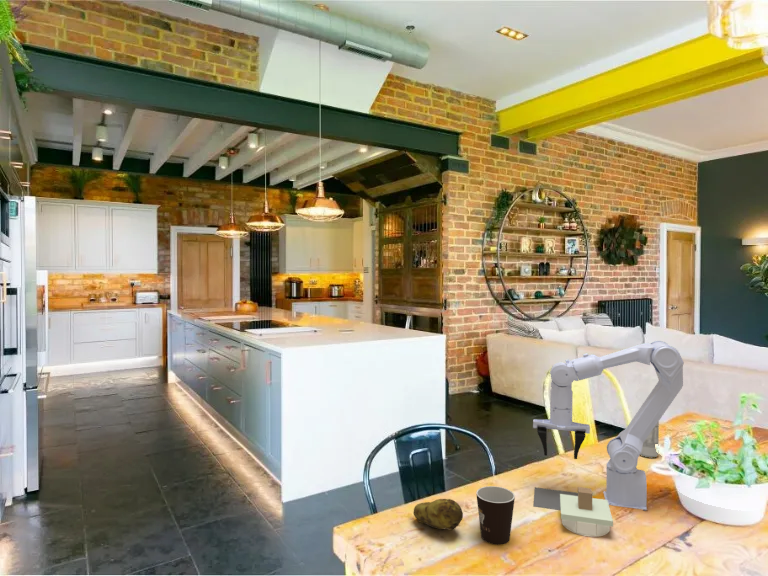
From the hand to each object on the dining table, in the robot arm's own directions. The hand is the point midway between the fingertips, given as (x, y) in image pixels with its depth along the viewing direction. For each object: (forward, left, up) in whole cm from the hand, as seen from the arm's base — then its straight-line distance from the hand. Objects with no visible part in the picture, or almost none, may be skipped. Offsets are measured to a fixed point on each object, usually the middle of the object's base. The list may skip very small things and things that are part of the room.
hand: (560, 456), depth 134 cm
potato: (+28, +29, -11) cm, 42 cm away
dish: (-5, +17, -10) cm, 21 cm away
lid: (-5, +16, -7) cm, 19 cm away
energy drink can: (-28, -39, -11) cm, 49 cm away
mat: (+1, +5, -10) cm, 12 cm away
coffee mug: (+15, +27, -11) cm, 33 cm away
